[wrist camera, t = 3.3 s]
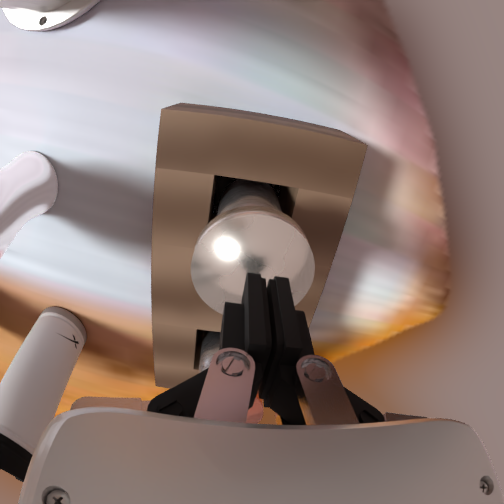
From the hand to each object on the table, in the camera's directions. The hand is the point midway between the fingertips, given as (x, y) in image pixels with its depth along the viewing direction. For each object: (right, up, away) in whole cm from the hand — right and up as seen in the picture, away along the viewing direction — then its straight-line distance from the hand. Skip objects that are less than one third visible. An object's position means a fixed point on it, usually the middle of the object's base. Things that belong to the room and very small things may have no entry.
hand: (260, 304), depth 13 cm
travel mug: (-22, -6, +19) cm, 30 cm away
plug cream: (-1, +5, +8) cm, 10 cm away
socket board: (-2, +2, +15) cm, 15 cm away
